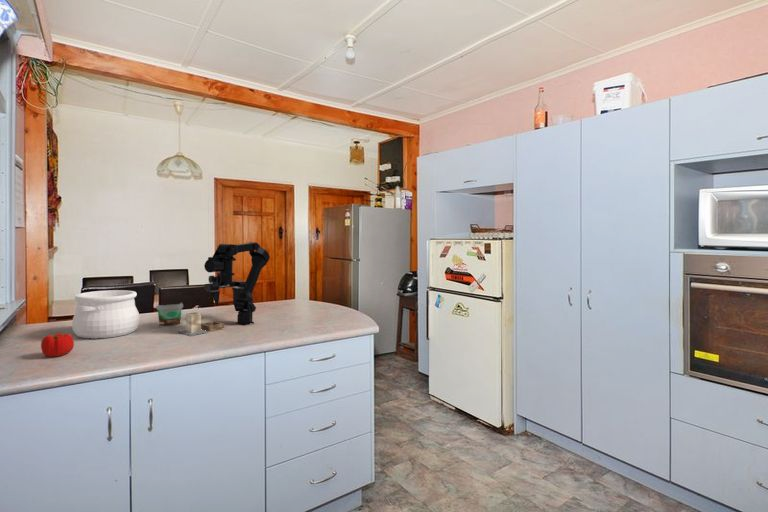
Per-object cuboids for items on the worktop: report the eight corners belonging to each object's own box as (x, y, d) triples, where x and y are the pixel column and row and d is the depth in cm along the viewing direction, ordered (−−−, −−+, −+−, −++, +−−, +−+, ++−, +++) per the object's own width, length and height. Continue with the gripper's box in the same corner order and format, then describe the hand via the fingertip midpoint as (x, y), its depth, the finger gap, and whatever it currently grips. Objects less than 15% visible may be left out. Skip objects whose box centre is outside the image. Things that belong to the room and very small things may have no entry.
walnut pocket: (214, 326, 194) (214, 321, 194) (224, 328, 189) (224, 323, 189) (199, 329, 187) (199, 323, 187) (208, 331, 183) (208, 326, 183)
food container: (162, 327, 188) (162, 306, 188) (156, 325, 192) (156, 304, 192) (188, 323, 198) (188, 303, 198) (182, 321, 202) (182, 301, 201)
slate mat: (195, 329, 187) (195, 327, 187) (208, 332, 182) (208, 331, 181) (178, 332, 181) (178, 331, 181) (191, 336, 175) (191, 334, 175)
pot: (104, 343, 161) (104, 299, 160) (55, 338, 166) (54, 296, 165) (153, 328, 187) (153, 291, 186) (109, 324, 192) (109, 288, 191)
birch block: (195, 329, 184) (195, 312, 184) (201, 331, 182) (201, 313, 181) (186, 331, 180) (186, 313, 180) (191, 333, 178) (191, 315, 177)
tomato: (79, 351, 150) (78, 331, 149) (60, 359, 141) (60, 338, 140) (53, 351, 149) (53, 331, 149) (33, 358, 140) (32, 337, 140)
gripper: (233, 268, 200) (232, 299, 200) (197, 270, 184) (197, 304, 185) (247, 270, 193) (246, 302, 194) (211, 272, 178) (211, 307, 179)
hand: (225, 303), depth 188 cm, fingers open, 9 cm apart
